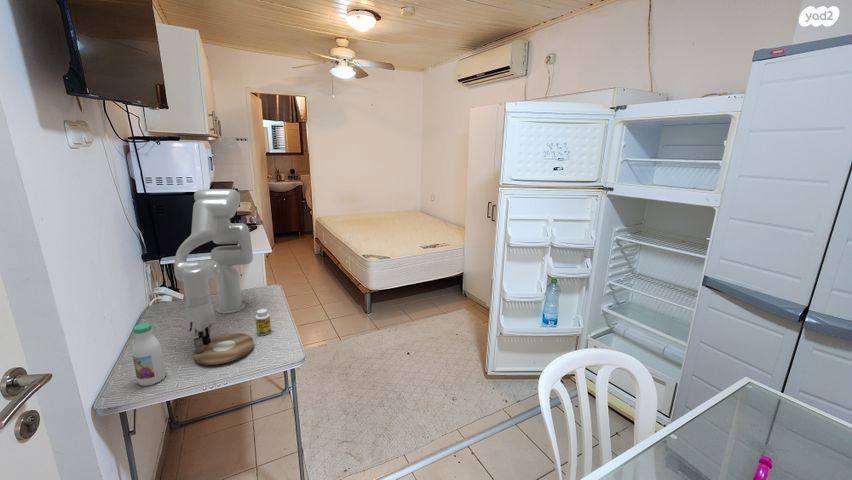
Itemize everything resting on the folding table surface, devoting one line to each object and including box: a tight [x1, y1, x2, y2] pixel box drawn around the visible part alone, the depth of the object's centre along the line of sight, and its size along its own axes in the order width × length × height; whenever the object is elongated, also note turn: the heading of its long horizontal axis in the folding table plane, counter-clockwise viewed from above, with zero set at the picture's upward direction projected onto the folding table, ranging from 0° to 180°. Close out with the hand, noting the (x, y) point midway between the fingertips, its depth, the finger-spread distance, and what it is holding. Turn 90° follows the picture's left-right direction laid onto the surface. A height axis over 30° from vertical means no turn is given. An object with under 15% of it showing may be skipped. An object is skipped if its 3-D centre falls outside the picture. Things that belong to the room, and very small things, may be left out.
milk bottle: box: [131, 322, 167, 387], centre depth 117 cm, size 8×8×20 cm
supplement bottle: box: [254, 308, 272, 336], centre depth 150 cm, size 6×6×10 cm
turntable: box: [193, 332, 254, 366], centre depth 135 cm, size 20×20×7 cm
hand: (205, 343), depth 135 cm, fingers closed
